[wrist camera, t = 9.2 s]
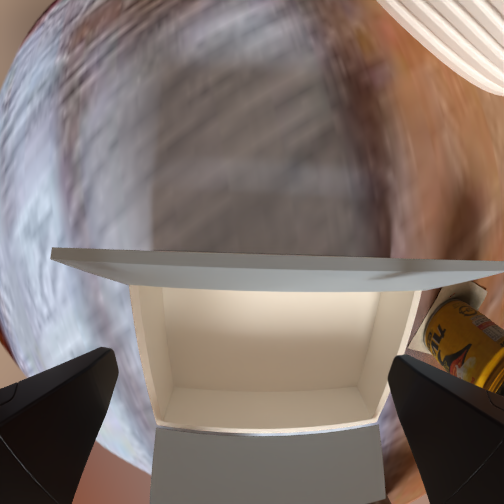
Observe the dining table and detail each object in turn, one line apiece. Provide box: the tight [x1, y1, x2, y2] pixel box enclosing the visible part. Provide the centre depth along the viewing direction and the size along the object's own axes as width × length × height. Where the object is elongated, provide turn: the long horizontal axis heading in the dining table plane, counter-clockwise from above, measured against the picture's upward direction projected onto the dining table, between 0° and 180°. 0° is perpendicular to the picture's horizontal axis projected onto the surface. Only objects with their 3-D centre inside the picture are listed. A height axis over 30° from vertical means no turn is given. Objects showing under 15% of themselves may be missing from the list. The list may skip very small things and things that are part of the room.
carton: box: [129, 251, 422, 433], centre depth 19 cm, size 13×18×5 cm
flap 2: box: [150, 425, 386, 504], centre depth 15 cm, size 7×18×1 cm
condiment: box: [408, 281, 504, 397], centre depth 16 cm, size 7×8×12 cm
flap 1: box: [50, 247, 504, 292], centre depth 11 cm, size 7×18×1 cm
